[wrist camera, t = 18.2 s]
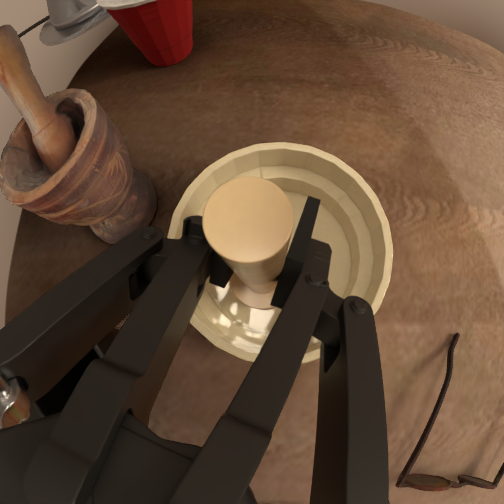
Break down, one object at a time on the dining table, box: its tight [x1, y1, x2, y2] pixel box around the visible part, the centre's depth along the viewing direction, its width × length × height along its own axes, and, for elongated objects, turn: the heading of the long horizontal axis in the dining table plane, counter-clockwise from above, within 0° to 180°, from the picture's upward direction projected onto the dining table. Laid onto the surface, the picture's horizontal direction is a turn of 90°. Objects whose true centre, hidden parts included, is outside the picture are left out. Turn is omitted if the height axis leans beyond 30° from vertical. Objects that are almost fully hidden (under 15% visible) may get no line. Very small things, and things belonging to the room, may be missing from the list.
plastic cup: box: [96, 0, 193, 67], centre depth 26 cm, size 11×11×12 cm
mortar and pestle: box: [0, 25, 157, 244], centre depth 18 cm, size 12×9×20 cm
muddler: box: [202, 176, 294, 310], centre depth 15 cm, size 4×4×16 cm
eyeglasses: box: [396, 333, 504, 491], centre depth 19 cm, size 15×15×5 cm
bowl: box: [167, 142, 393, 363], centre depth 23 cm, size 15×15×6 cm
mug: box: [20, 328, 120, 423], centre depth 20 cm, size 8×12×10 cm
